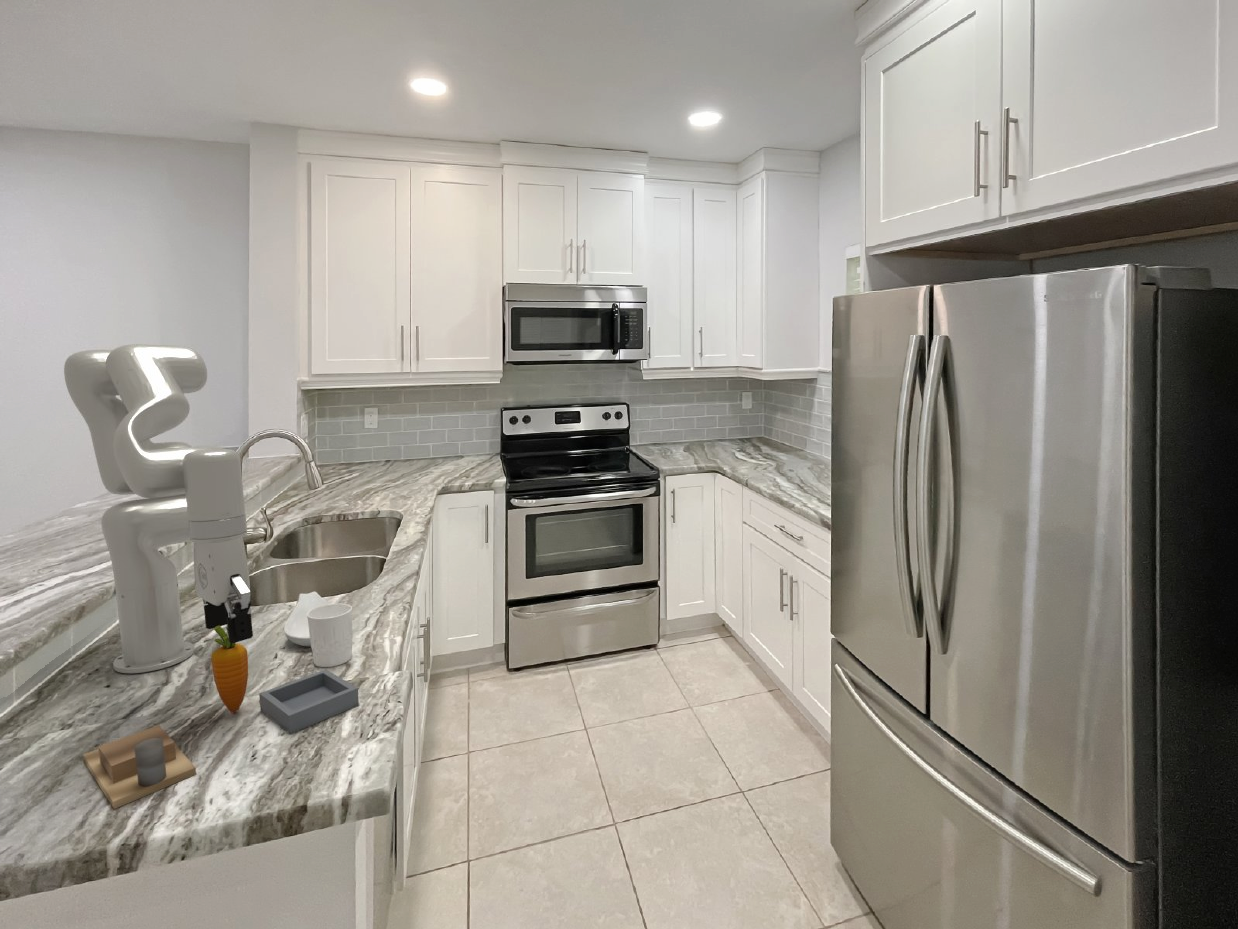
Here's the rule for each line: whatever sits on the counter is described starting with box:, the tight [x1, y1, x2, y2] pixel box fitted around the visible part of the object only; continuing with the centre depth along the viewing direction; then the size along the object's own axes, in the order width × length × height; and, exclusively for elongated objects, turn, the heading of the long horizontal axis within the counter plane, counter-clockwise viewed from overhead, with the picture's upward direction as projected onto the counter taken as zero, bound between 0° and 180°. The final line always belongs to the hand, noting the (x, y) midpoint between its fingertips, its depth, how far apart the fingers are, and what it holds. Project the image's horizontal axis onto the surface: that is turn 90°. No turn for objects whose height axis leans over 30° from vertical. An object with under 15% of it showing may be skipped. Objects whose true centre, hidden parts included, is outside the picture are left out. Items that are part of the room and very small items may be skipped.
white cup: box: [307, 603, 353, 668], centre depth 119 cm, size 8×8×10 cm
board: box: [82, 738, 197, 810], centre depth 86 cm, size 16×9×6 cm, turn 51°
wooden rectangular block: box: [97, 724, 176, 784], centre depth 86 cm, size 7×7×2 cm
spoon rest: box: [283, 591, 330, 647], centre depth 133 cm, size 24×12×7 cm, turn 34°
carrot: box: [210, 626, 249, 714], centre depth 99 cm, size 5×5×15 cm
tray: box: [258, 668, 360, 735], centre depth 102 cm, size 11×11×3 cm
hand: (229, 633), depth 98 cm, fingers open, 9 cm apart
